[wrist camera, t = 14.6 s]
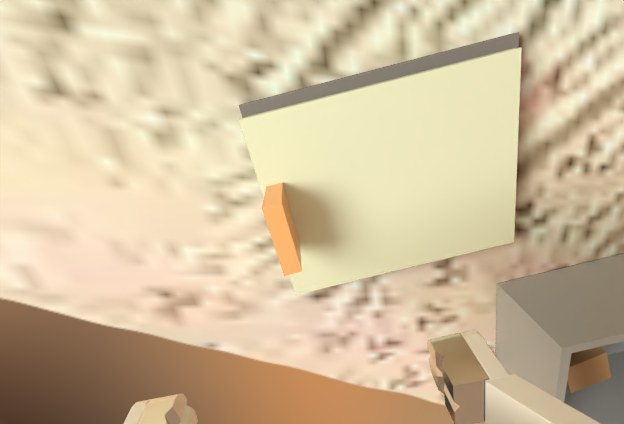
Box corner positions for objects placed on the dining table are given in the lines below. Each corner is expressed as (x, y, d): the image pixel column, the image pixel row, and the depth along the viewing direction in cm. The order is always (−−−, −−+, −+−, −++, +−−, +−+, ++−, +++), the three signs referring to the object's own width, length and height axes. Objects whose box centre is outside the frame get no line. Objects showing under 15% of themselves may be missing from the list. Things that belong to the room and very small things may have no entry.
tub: (678, 240, 30) (802, 292, 23) (648, 342, 36) (741, 410, 29) (496, 283, 31) (562, 348, 24) (495, 378, 36) (548, 453, 29)
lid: (499, 50, 22) (575, 40, 16) (497, 230, 28) (551, 269, 22) (243, 116, 22) (228, 129, 17) (294, 279, 28) (296, 330, 22)
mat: (513, 33, 22) (519, 32, 21) (508, 229, 28) (512, 232, 28) (240, 104, 22) (238, 105, 22) (296, 280, 29) (296, 284, 28)
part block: (570, 321, 33) (606, 352, 29) (576, 345, 34) (611, 377, 30) (533, 336, 33) (564, 369, 29) (541, 359, 35) (570, 393, 31)
